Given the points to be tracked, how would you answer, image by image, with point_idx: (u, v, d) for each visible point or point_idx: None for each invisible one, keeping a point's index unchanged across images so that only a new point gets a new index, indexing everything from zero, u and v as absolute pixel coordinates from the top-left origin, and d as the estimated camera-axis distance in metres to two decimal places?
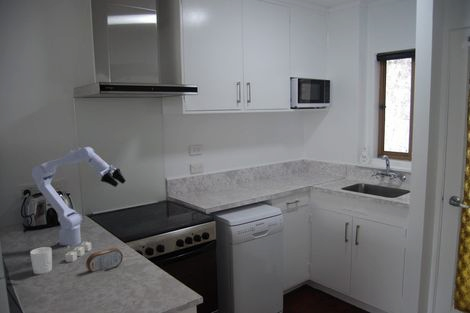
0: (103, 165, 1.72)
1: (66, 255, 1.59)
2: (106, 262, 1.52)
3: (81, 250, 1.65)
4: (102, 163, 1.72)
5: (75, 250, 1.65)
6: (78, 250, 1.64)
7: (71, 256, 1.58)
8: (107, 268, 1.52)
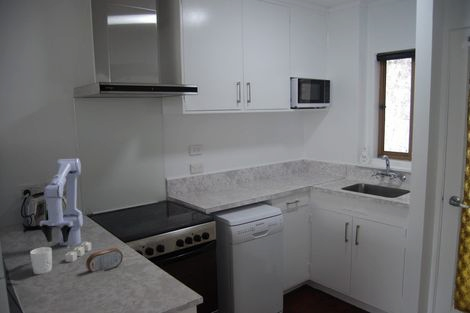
0: (48, 217, 1.57)
1: (66, 255, 1.59)
2: (106, 261, 1.52)
3: (81, 250, 1.65)
4: (48, 215, 1.57)
5: (75, 250, 1.65)
6: (78, 250, 1.64)
7: (71, 256, 1.58)
8: (107, 268, 1.52)
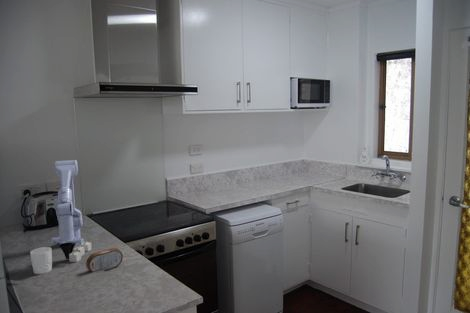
0: (60, 235, 1.57)
1: (70, 255, 1.58)
2: (106, 261, 1.52)
3: (81, 250, 1.65)
4: (60, 232, 1.57)
5: (75, 250, 1.65)
6: (78, 250, 1.64)
7: (75, 256, 1.58)
8: (107, 268, 1.52)
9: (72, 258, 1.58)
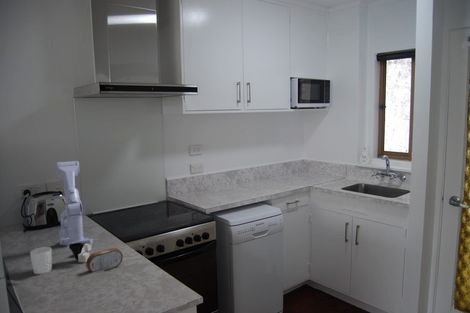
0: (69, 235, 1.56)
1: (79, 256, 1.58)
2: (106, 262, 1.52)
3: None
4: (69, 232, 1.56)
5: None
6: None
7: (84, 257, 1.57)
8: (107, 268, 1.52)
9: (81, 258, 1.58)
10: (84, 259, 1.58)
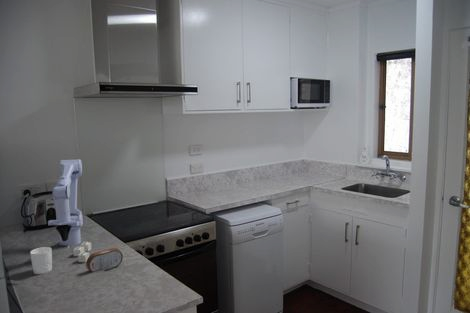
0: (56, 217, 1.63)
1: (79, 256, 1.58)
2: (106, 262, 1.52)
3: (81, 250, 1.65)
4: (56, 214, 1.63)
5: (75, 250, 1.65)
6: (78, 250, 1.64)
7: (84, 257, 1.57)
8: (107, 268, 1.52)
9: (81, 258, 1.58)
10: (84, 259, 1.58)
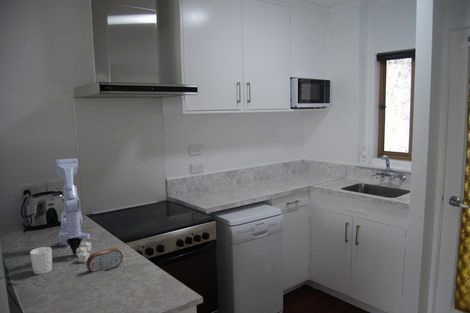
0: (67, 230, 1.63)
1: (79, 256, 1.58)
2: (106, 262, 1.52)
3: (84, 250, 1.65)
4: (67, 228, 1.63)
5: (78, 250, 1.64)
6: (81, 250, 1.64)
7: (84, 257, 1.57)
8: (107, 268, 1.52)
9: (81, 258, 1.58)
10: (84, 259, 1.58)
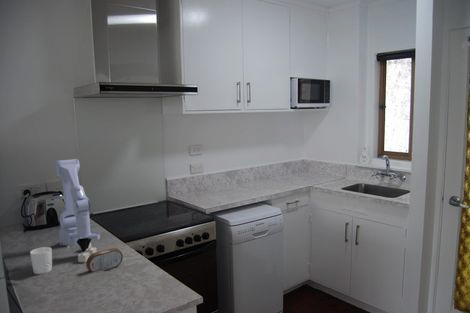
0: (77, 231, 1.62)
1: (79, 256, 1.58)
2: (106, 262, 1.52)
3: (93, 250, 1.64)
4: (77, 228, 1.62)
5: (87, 250, 1.64)
6: (91, 250, 1.63)
7: (84, 257, 1.57)
8: (107, 268, 1.52)
9: (81, 258, 1.58)
10: (84, 259, 1.58)
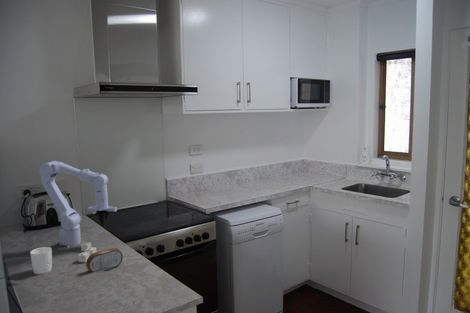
0: (96, 203, 1.77)
1: (79, 256, 1.58)
2: (106, 261, 1.52)
3: (93, 250, 1.64)
4: (96, 201, 1.76)
5: (87, 250, 1.64)
6: (91, 250, 1.63)
7: (84, 257, 1.57)
8: (107, 268, 1.52)
9: (81, 258, 1.58)
10: (84, 259, 1.58)
